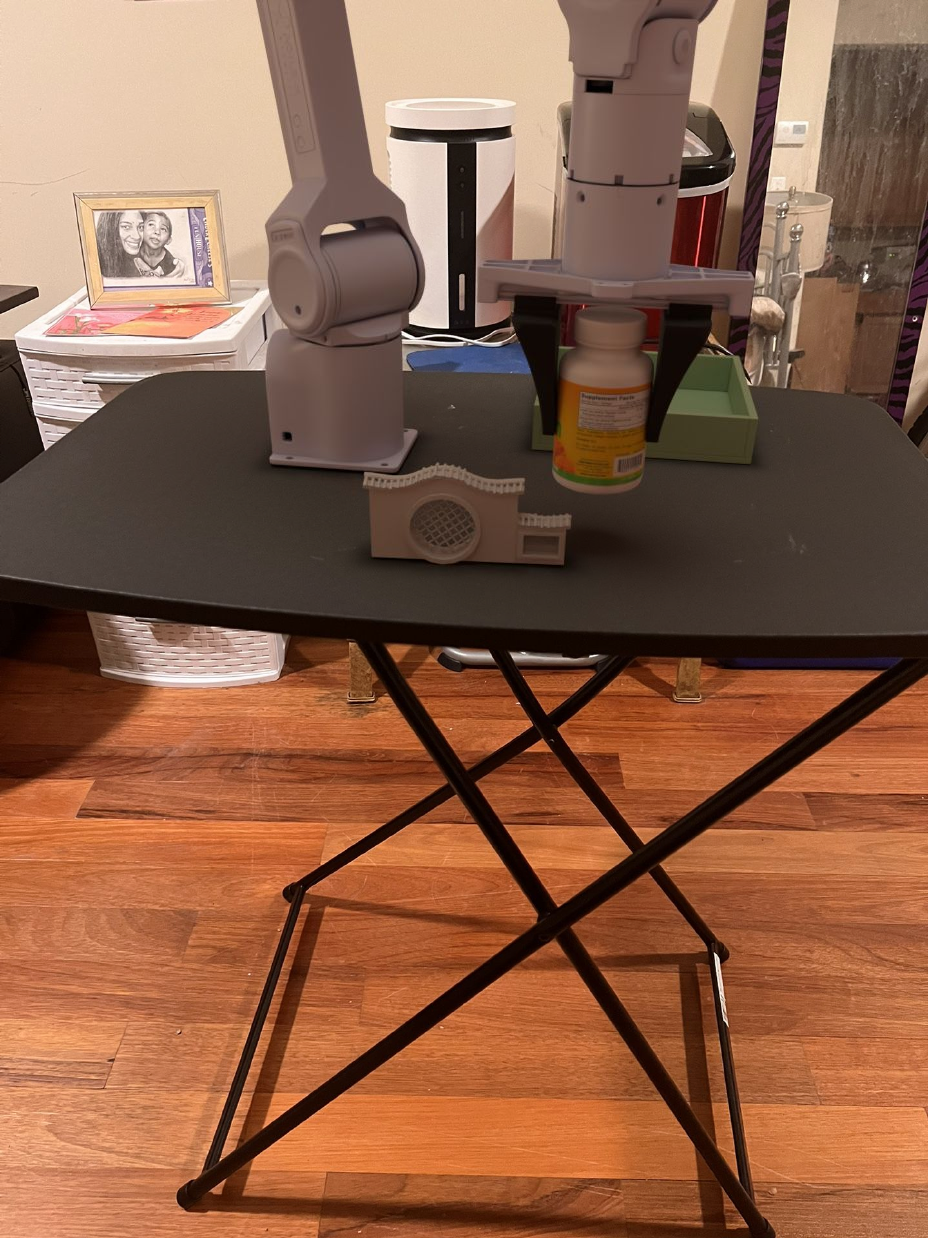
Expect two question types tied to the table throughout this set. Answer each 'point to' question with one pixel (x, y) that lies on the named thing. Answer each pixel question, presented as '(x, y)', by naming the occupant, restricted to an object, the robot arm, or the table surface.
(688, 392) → the basket
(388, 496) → the garden wall model
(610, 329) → the supplement bottle
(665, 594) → the table surface
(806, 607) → the table surface
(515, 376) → the table surface
